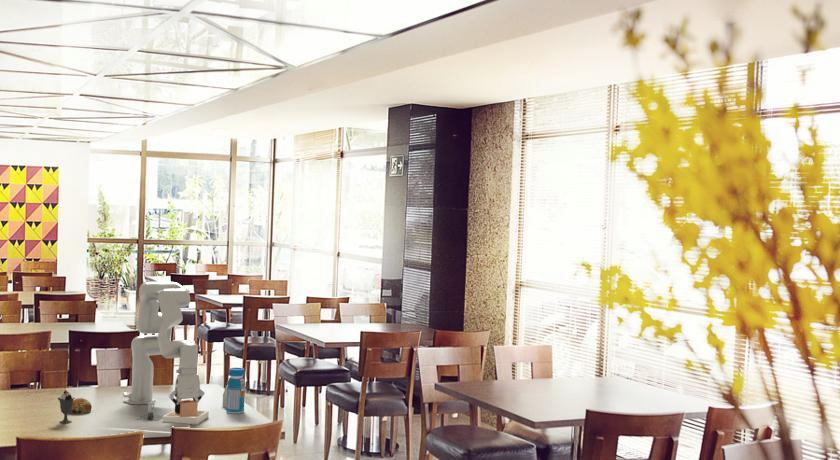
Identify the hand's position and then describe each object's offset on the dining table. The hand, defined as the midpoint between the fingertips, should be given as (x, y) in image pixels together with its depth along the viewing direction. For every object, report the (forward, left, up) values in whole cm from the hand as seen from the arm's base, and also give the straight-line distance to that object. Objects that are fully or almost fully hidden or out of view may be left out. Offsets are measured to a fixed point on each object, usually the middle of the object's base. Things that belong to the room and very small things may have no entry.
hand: (186, 412), depth 355 cm
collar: (0, 0, -1) cm, 1 cm away
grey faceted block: (+10, +31, -4) cm, 33 cm away
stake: (-15, -2, -4) cm, 16 cm away
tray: (0, 0, -4) cm, 4 cm away
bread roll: (-50, +3, -4) cm, 50 cm away
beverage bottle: (+15, +22, -4) cm, 27 cm away
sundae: (-46, -16, -4) cm, 49 cm away
